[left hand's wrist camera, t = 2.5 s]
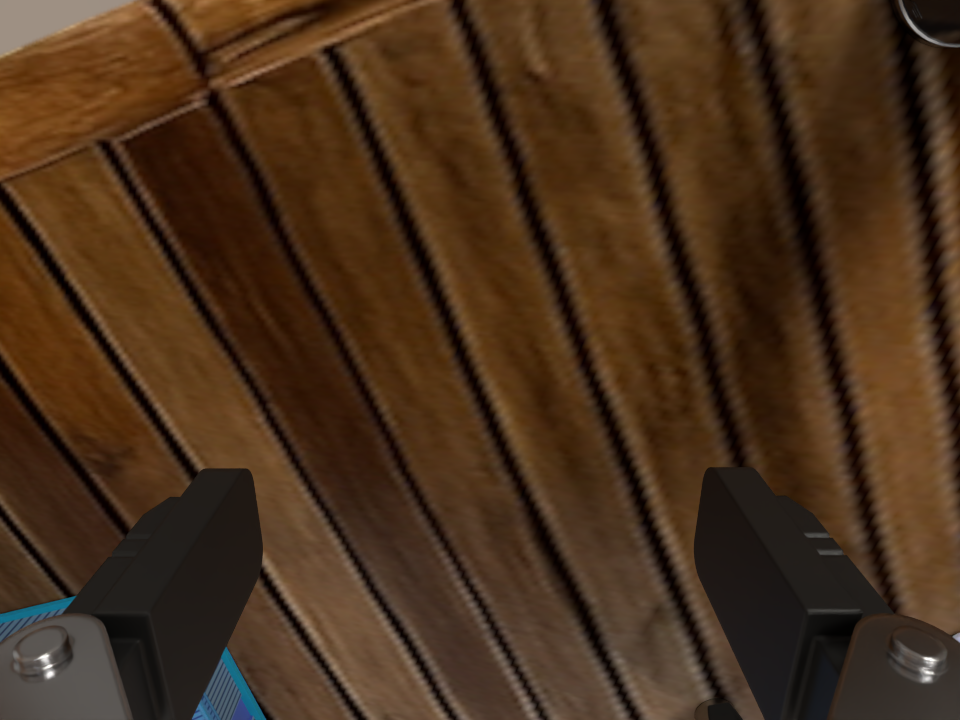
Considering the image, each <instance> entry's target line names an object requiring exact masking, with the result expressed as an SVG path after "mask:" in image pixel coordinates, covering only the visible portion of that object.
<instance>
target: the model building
mask: <svg viewBox="0 0 960 720" xmlns="http://www.w3.org/2000/svg"><path fill="white" fill-rule="evenodd" d="M75 597H76V596H74V597H70V598H65V599H61V600H57V601H53V602H49V603H45V604H41V605H36V606H32V607H28V608H24V609H20V610H16V611H12V612H7V613H3V614H0V642H1V641H3V640H4V639H5V638H7V637H8V636H10V635H11V634H13V633H15V632H16V631H18V630H20V629H22V628H24V627H25V626H27V625H30V624H32V623H34V622H37V621H39V620H42V619H45V618H48V617H52V616H57V615H61V614H62V613H63V612H64V611H65V609H66V608H67V607H68V606H69V604H70V603H71V602H72V601H73V600H74V598H75ZM192 720H266V718H265V716H264V715H263V713H262V711H261V709H260V707H259V706H258V704H257V702H256V700H255V698H254V696H253V695H252V693H251V691H250V689H249V687H248V685H247V684H246V682H245V680H244V678H243V676H242V674H241V673H240V671H239V669H238V667H237V665H236V664H235V662H234V660H233V658H232V656H231V654H230V653H229V651H228V649H227V647H226V648H225V650H224V652H223V654H222V656H221V658H220V660H219V662H218V665H217V667H216V669H215V671H214V673H213V675H212V677H211V679H210V682H209V684H208V686H207V688H206V690H205V692H204V694H203V696H202V699H201V701H200V703H199V705H198V707H197V709H196V711H195V714H194V716H193V718H192Z"/></svg>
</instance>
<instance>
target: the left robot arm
mask: <svg viewBox="0 0 960 720" xmlns="http://www.w3.org/2000/svg"><path fill="white" fill-rule="evenodd" d="M891 4H892V7H893V10H894V13H895V15H896V17H897V19H898V21H899V23H900V24H901V26H902V27H903V28H904V29H905V31H906V32H907V33H908V34H909V35H911V36H912V37H913V38H915V39H916V40H918V41H920V42H921V43H924V44H926V45H929V46H932V47H937V48H959V47H960V0H891ZM262 556H263V543H262V535H261V528H260V522H259V515H258V508H257V501H256V494H255V487H254V481H253V477H252V474H251V472H250V471H249V470H248V469H203V470H201V471H200V472H199V473H198V475H197V476H196V477H195V479H194V480H193V481H192V483H191V484H190V485H189V486H188V488H187V489H186V490H185V492H184V493H183V494H182V496H181V497H169V498H168V499H166V500H165V501H163V502H162V503H160V504H159V505H157V506H156V507H154V508H153V509H151V510H150V511H148V512H147V513H145V514H144V515H143V516H142V517H141V518H140V519H139V521H138V522H137V523H136V524H135V526H134V527H133V528H132V529H131V530H130V532H129V533H128V534H127V538H126V539H123V540H122V541H121V543H120V544H119V545H118V546H117V547H116V549H115V550H114V551H113V552H112V557H108V558H107V560H106V561H105V562H104V563H103V564H102V566H101V567H100V568H99V569H98V570H97V572H96V573H95V574H94V575H93V577H92V578H91V579H90V580H89V581H88V583H87V584H86V585H85V586H84V587H83V589H82V590H81V591H80V592H79V594H78V595H77V596H76V597H75V598H74V600H73V601H72V602H71V603H70V604H69V606H68V607H67V608H66V609H65V611H64V612H63V613H62V614H61V615H57V616H52V617H48V618H45V619H42V620H39V621H37V622H34V623H32V624H30V625H27V626H25V627H24V628H22V629H20V630H18V631H16V632H15V633H13V634H11V635H10V636H8V637H7V638H5V639H4V640H3V641H1V642H0V720H192V718H193V716H194V714H195V711H196V709H197V707H198V705H199V703H200V701H201V699H202V696H203V694H204V692H205V690H206V688H207V686H208V684H209V682H210V679H211V677H212V675H213V673H214V671H215V669H216V667H217V665H218V662H219V660H220V658H221V656H222V654H223V652H224V650H225V648H226V645H227V643H228V641H229V639H230V637H231V635H232V633H233V631H234V628H235V626H236V624H237V622H238V620H239V618H240V616H241V614H242V611H243V609H244V607H245V605H246V603H247V601H248V599H249V596H250V594H251V592H252V590H253V588H254V586H255V584H256V582H257V579H258V577H259V574H260V570H261V565H262ZM694 558H695V565H696V569H697V573H698V576H699V579H700V581H701V583H702V585H703V587H704V590H705V592H706V594H707V596H708V598H709V600H710V603H711V605H712V607H713V609H714V611H715V613H716V615H717V618H718V620H719V622H720V624H721V626H722V628H723V631H724V633H725V635H726V637H727V639H728V641H729V643H730V646H731V648H732V650H733V652H734V654H735V656H736V659H737V661H738V663H739V665H740V667H741V669H742V671H743V674H744V676H745V678H746V680H747V682H748V684H749V687H750V689H751V691H752V693H753V695H754V697H755V699H756V702H757V704H758V706H759V708H760V710H761V712H762V715H763V717H764V719H765V720H960V642H959V641H957V640H956V639H955V638H953V637H952V636H950V635H949V634H947V633H945V632H944V631H942V630H940V629H938V628H936V627H935V626H933V625H930V624H928V623H926V622H923V621H921V620H918V619H915V618H912V617H908V616H903V615H898V614H894V613H893V611H892V610H891V609H890V608H889V607H888V605H887V604H886V603H885V602H884V600H883V599H882V598H881V597H880V596H879V594H878V593H877V592H876V591H875V589H874V588H873V587H872V586H871V584H870V583H869V582H868V581H867V580H866V578H865V577H864V576H863V575H862V573H861V572H860V571H859V570H858V569H857V567H856V566H855V565H854V564H853V562H852V561H851V560H850V559H849V558H848V556H847V555H843V550H842V549H841V548H840V547H839V545H838V544H837V543H836V542H835V540H834V539H833V538H830V537H829V533H828V532H827V531H826V529H825V528H824V527H823V526H822V524H821V523H820V522H819V521H818V520H817V518H816V517H815V516H814V515H813V513H811V512H810V511H808V510H807V509H805V508H804V507H802V506H801V505H799V504H798V503H796V502H795V501H793V500H792V499H790V498H789V497H787V496H775V494H774V493H773V492H772V490H771V489H770V488H769V487H768V485H767V484H766V483H765V481H764V480H763V479H762V477H761V476H760V475H759V473H758V472H757V471H756V470H755V469H754V468H751V467H710V468H708V469H707V470H706V472H705V474H704V478H703V483H702V490H701V497H700V504H699V511H698V518H697V525H696V532H695V539H694Z"/></svg>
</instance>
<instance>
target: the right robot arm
mask: <svg viewBox="0 0 960 720" xmlns="http://www.w3.org/2000/svg"><path fill="white" fill-rule="evenodd" d="M952 637H953V638H955V639H956V640H957V641H959V642H960V633H958V634H956V635H954V636H952ZM708 718H709V720H743V719H742V718H741V717H740V715H739V714H738V712H737V711H736V710H735V709H734V707H733V706H732V705H731V704H730V703H729V702H726V703H720V704H714V705H709V706H708Z"/></svg>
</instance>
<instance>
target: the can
mask: <svg viewBox="0 0 960 720" xmlns="http://www.w3.org/2000/svg"><path fill="white" fill-rule="evenodd" d="M726 702H729V701H727V700H724V699H711V700H708V701H705V702H703V703H702V704H701V705H700V706H699V707H698V708H697V709H696V712H695V719H696V720H709V718H708V706H709V705H714V704H720V703H726ZM729 703H730V702H729ZM730 704H731V703H730ZM731 705H732V704H731ZM732 706H733V705H732ZM733 707H734V706H733ZM734 709H735V708H734Z"/></svg>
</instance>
